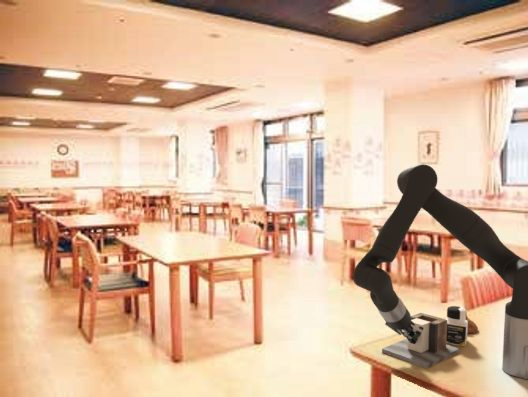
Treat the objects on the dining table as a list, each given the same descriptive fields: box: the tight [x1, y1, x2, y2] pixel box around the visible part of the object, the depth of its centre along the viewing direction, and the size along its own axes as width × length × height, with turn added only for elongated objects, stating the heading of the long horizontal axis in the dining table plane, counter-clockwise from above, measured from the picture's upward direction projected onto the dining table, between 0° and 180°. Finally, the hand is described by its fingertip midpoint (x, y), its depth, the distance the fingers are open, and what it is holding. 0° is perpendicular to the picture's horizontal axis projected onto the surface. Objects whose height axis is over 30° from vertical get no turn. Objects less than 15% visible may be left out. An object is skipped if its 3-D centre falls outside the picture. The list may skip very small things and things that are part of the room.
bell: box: [466, 312, 479, 335], centre depth 177 cm, size 12×12×7 cm
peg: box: [407, 318, 431, 353], centre depth 153 cm, size 5×5×9 cm
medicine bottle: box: [445, 305, 468, 347], centre depth 164 cm, size 7×7×12 cm
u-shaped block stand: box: [381, 312, 460, 369], centre depth 154 cm, size 20×16×10 cm
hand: (413, 341), depth 151 cm, fingers closed
